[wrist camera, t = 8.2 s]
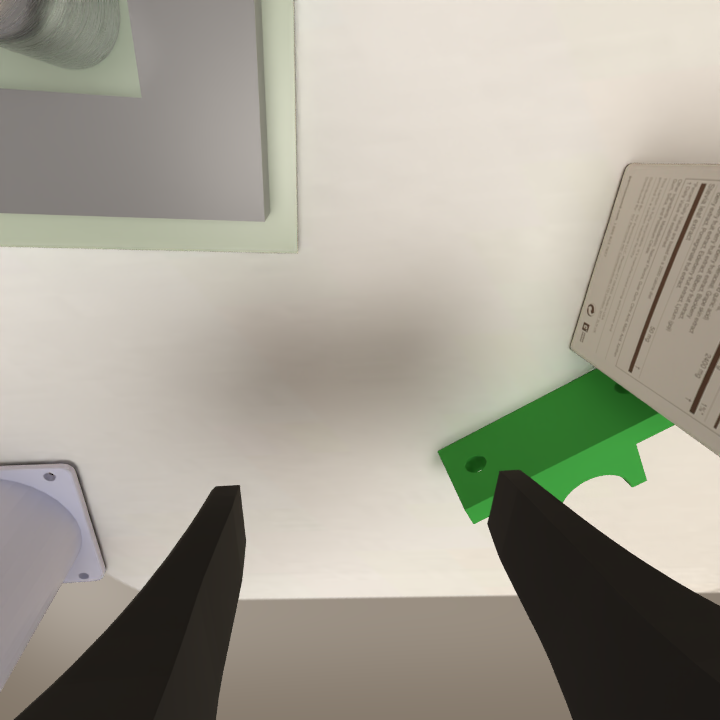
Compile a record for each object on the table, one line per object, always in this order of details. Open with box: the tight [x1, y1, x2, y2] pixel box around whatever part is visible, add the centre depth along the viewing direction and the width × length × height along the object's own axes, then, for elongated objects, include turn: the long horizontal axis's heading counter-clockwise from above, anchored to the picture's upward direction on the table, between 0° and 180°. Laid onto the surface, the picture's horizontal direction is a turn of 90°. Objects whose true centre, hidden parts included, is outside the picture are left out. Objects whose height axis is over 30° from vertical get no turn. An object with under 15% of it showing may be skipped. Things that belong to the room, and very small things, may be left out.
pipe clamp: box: [438, 368, 675, 524], centre depth 21 cm, size 11×4×5 cm, turn 119°
